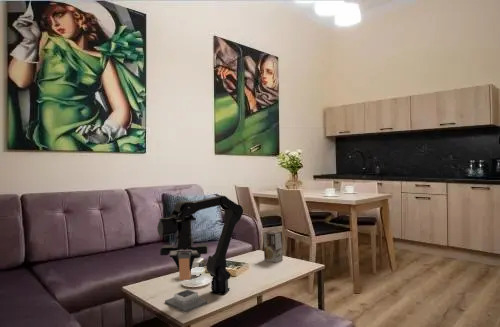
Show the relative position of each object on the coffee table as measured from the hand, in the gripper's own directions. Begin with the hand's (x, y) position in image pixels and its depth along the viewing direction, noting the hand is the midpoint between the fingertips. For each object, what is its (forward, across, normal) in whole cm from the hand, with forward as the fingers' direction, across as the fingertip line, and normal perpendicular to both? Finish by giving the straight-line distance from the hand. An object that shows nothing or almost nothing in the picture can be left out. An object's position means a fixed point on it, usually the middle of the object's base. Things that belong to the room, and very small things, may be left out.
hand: (185, 270), depth 130 cm
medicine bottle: (+13, +1, -34) cm, 37 cm away
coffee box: (+13, -41, -52) cm, 68 cm away
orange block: (+3, 0, 0) cm, 3 cm away
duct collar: (+13, 0, 0) cm, 13 cm away
